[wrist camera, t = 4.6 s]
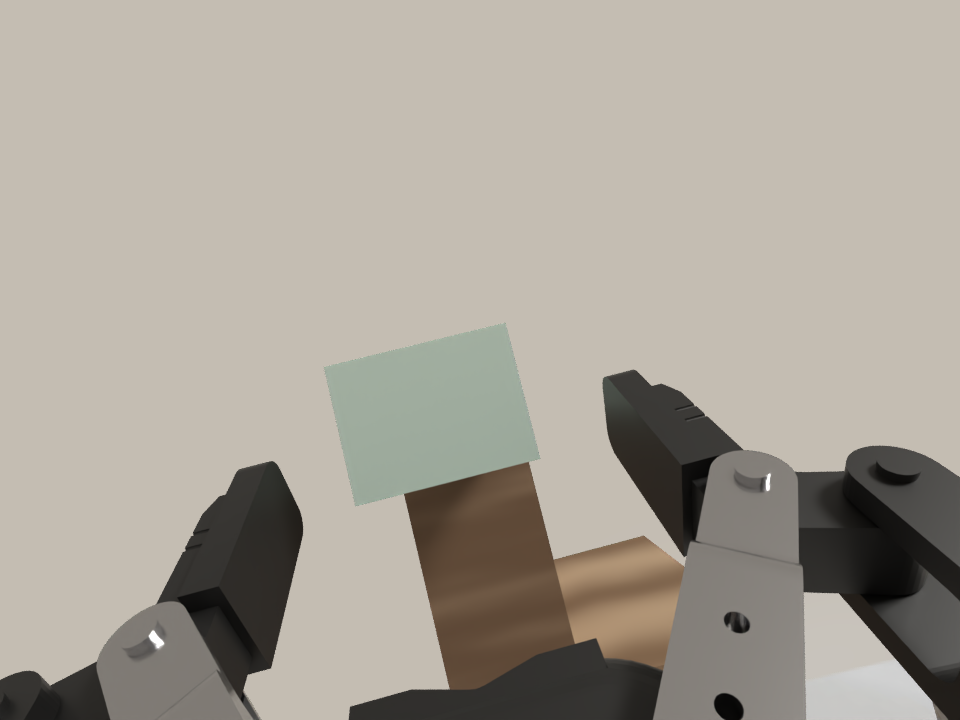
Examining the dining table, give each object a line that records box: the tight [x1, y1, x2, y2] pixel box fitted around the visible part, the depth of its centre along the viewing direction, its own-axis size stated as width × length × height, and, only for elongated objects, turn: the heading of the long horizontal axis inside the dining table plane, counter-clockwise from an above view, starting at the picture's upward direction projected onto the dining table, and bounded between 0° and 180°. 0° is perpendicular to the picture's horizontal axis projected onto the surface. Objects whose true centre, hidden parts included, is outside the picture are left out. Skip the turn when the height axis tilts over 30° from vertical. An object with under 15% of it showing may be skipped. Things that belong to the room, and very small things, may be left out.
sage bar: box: [324, 323, 540, 506], centre depth 22 cm, size 24×4×3 cm, turn 1°
